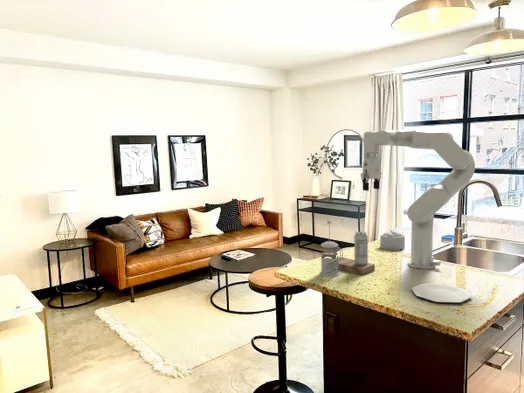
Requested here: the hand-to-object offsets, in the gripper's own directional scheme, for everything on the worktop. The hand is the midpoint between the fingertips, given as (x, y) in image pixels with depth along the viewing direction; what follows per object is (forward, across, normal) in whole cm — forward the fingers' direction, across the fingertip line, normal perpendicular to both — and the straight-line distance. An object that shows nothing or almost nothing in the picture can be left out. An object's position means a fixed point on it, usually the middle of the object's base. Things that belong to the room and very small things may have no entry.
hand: (371, 189), depth 197 cm
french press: (+36, -33, 0) cm, 49 cm away
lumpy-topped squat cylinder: (+37, +29, +4) cm, 47 cm away
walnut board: (+36, -21, -2) cm, 42 cm away
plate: (+37, -26, -47) cm, 65 cm away
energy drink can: (+34, -20, -7) cm, 40 cm away
